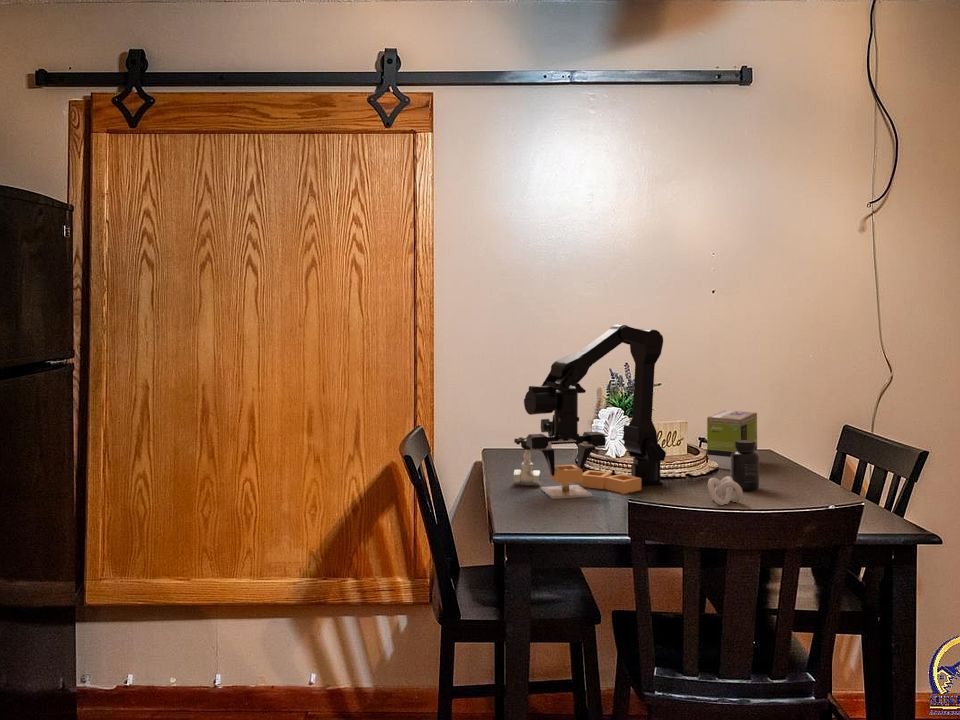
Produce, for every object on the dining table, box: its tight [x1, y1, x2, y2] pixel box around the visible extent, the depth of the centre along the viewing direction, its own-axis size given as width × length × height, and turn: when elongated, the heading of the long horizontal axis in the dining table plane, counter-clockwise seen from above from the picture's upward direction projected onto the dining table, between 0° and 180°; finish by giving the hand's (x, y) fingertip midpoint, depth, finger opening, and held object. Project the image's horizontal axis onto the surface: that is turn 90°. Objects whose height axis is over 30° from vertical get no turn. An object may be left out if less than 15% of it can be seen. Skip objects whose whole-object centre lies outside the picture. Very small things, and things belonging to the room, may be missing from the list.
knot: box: [707, 475, 744, 505], centre depth 188 cm, size 8×8×6 cm
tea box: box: [706, 410, 758, 471], centre depth 230 cm, size 15×10×15 cm, turn 144°
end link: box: [549, 464, 584, 484], centre depth 198 cm, size 6×6×3 cm
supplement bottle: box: [730, 440, 760, 492], centre depth 201 cm, size 7×7×12 cm
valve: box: [513, 437, 542, 487], centre depth 206 cm, size 7×7×12 cm
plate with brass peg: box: [539, 469, 593, 500], centre depth 198 cm, size 10×10×6 cm
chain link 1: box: [578, 469, 613, 490], centre depth 206 cm, size 6×6×3 cm
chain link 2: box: [604, 473, 642, 495], centre depth 201 cm, size 6×6×3 cm
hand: (565, 474), depth 198 cm, fingers closed on end link, 6 cm apart
